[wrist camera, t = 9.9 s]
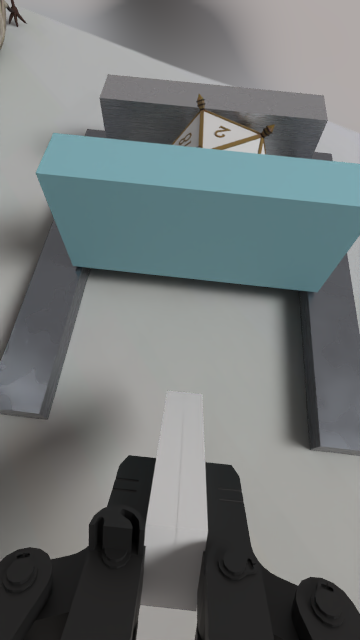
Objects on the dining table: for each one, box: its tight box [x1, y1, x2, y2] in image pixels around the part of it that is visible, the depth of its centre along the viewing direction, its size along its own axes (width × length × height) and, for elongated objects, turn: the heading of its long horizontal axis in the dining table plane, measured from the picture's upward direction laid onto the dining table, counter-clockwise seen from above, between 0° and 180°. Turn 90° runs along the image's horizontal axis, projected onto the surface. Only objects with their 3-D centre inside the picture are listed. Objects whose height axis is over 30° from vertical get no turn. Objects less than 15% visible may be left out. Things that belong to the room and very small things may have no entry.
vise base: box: [0, 75, 360, 456], centre depth 22 cm, size 21×24×6 cm
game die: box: [171, 94, 275, 154], centre depth 24 cm, size 9×8×10 cm
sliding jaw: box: [36, 133, 360, 292], centre depth 20 cm, size 16×3×7 cm, turn 84°
